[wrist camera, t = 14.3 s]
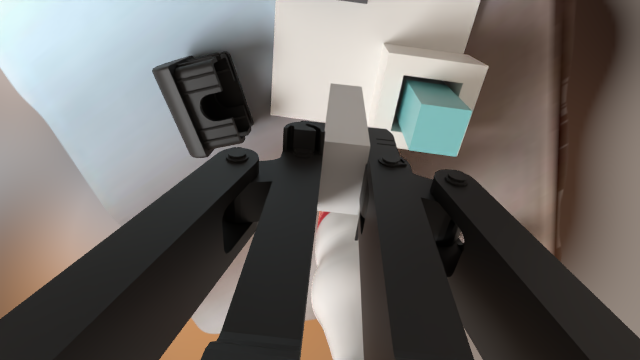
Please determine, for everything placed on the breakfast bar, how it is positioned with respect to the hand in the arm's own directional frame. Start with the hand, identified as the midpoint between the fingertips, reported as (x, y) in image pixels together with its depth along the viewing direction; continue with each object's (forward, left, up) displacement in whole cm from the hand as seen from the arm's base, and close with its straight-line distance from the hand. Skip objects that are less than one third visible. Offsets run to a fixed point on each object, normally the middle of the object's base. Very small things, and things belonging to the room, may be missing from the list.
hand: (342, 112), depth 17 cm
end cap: (+8, -15, -24) cm, 29 cm away
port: (+4, +8, -23) cm, 25 cm away
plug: (+4, +8, -22) cm, 24 cm away
